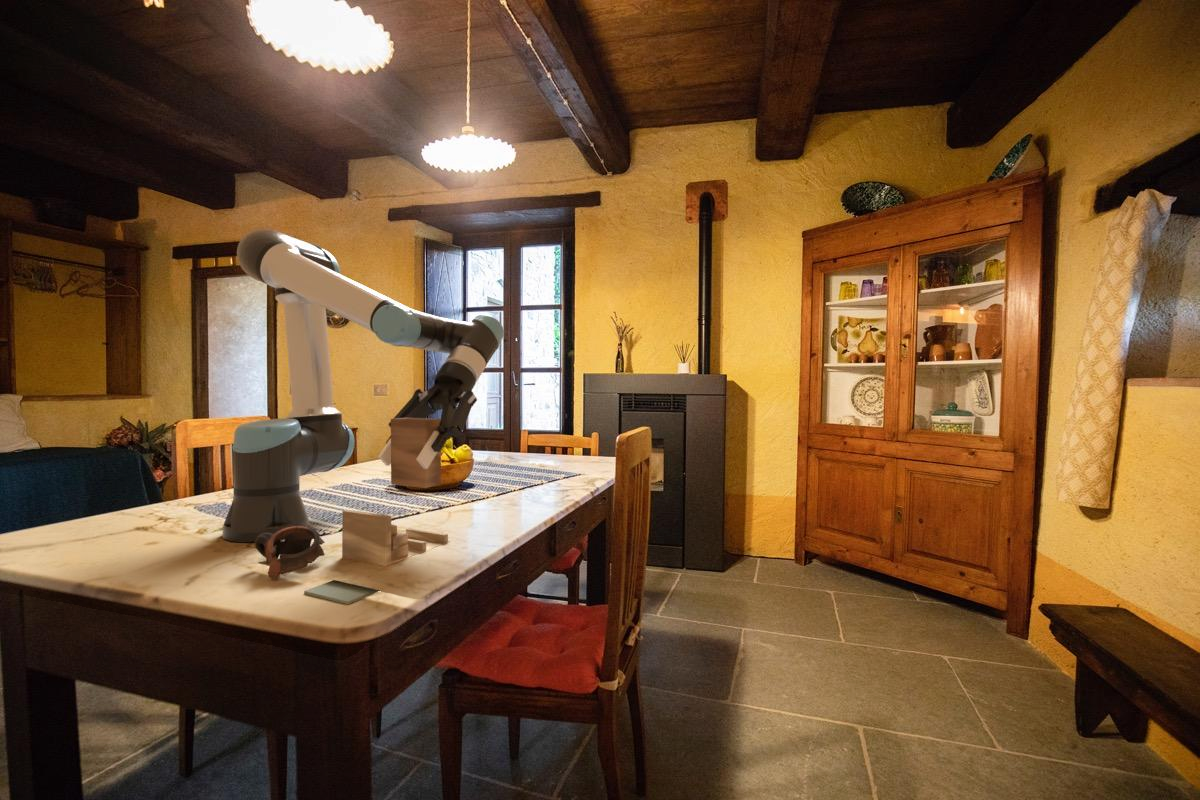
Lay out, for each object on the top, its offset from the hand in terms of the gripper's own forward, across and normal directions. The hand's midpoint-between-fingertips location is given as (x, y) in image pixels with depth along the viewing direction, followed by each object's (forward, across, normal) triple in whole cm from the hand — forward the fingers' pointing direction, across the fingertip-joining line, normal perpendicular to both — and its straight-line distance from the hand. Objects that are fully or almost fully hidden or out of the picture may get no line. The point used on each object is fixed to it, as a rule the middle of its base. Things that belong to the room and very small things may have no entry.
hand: (402, 462), depth 92 cm
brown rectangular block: (+1, 0, -6) cm, 6 cm away
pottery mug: (+21, +13, -4) cm, 25 cm away
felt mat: (+22, -3, -2) cm, 22 cm away
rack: (+11, +2, -13) cm, 17 cm away
